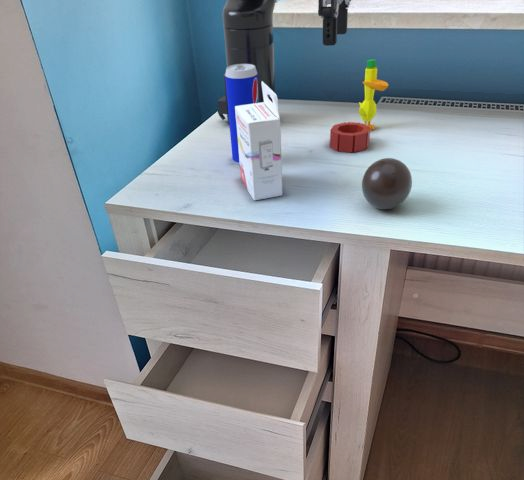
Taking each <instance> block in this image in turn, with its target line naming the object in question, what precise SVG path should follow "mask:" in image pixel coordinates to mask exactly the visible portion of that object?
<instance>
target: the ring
mask: <svg viewBox="0 0 524 480" xmlns="http://www.w3.org/2000/svg"><path fill="white" fill-rule="evenodd" d="M367 125H368V124H367ZM367 125H365V123H363V122H356V121H355V122H353V121H346V122H340V123H336V124H333V125H332V127H331V128H330V130H329V131H330V133H329V148H331V149H333V150H335V151H336V152H339V153H349V154H350V153H358V152H361V151H366V150H367V149H368V147H369V145H370V138H371V131H370V127H369V126H367Z"/></svg>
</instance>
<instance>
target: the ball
mask: <svg viewBox="0 0 524 480" xmlns="http://www.w3.org/2000/svg"><path fill="white" fill-rule="evenodd" d="M412 187H413V177H412V174H411V171H410V168H409V167H408V166H407V164H406V163H404V162H403V161H401V160H400V159H397V158H393V157H385V158H381V159H378V160H376V161H374V162H373V163H372V164H370V166H369V167H368V168H367V169H366V170H365V172H364V174H363V176H362V180H361V191H362V195H363V197H364V199H365V200H366V202H367V203H368V204H369V205H371V206H372V207H374V208H376V209H379V210H392V209H394V208H395V209H396V208H397V207H399V206H400V205H402V204H403V203H404V202H405V201H406V200H407V199H408V197H409V195H410V193H411V191H412Z"/></svg>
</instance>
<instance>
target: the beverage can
mask: <svg viewBox="0 0 524 480" xmlns="http://www.w3.org/2000/svg"><path fill="white" fill-rule="evenodd" d="M225 72H226V74H225V79H226V91H227V102H228V113H229V124H228V125H229V132H230V133H229V134H230V136H229V137H230V146H231V147H230V148H231V158H232V161H233V162H234V163H235V164H236V165H238V166H240V163H239V149H238V136H237V125H236V114H235V106H240V105H247V104H254V103H259V95H258V75H257V70H256V67H255V66H254V65H252V64H235V65H231V66H228V67H227V66H226V67H225Z"/></svg>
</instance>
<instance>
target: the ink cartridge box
mask: <svg viewBox="0 0 524 480" xmlns="http://www.w3.org/2000/svg"><path fill="white" fill-rule="evenodd" d="M261 84H262V92H263V99H264V102H261V103H254V104H247V105H240V106H235V114H236V125H237V136H238V149H239V163H240V165H239V171H240V172H239V173H240V180H241V182H242V183H243V185H244V187H245V189H246V190H247V191H248V193H249V194H250V196H251V198H252V200H253V201H260V200H265V199H270V198H275V197H281V196H283V169H282V168H283V167H282V165H283V163H282V132H281V130H282V129H281V117H280V116H281V115H280V106H279V99H278V95H277V94H276V92H275V93H274V92H273V91H272V90H271V89H270V88H269V87H268V86H267V85H266V84H265V83H264V82H263V81H262V82H261ZM268 95H270V97H271V98H272V101H273V103H272V102H271V101H270V100H269V98H268Z"/></svg>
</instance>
